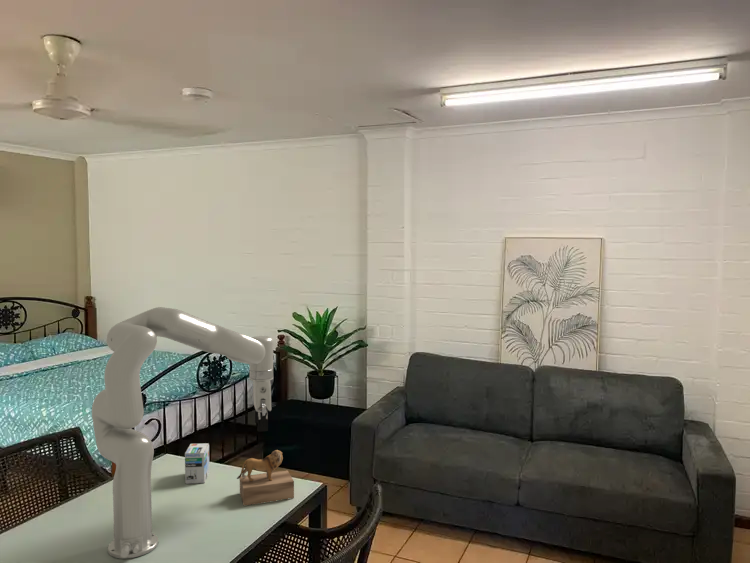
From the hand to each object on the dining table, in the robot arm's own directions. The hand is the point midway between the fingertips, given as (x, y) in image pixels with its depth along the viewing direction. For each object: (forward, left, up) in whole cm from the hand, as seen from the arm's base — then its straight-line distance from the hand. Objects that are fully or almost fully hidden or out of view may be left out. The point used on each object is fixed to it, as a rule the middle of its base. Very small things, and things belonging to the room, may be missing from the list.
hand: (261, 426), depth 191 cm
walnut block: (-1, -1, -23) cm, 23 cm away
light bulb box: (+21, +20, -23) cm, 37 cm away
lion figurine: (0, 0, -17) cm, 17 cm away
